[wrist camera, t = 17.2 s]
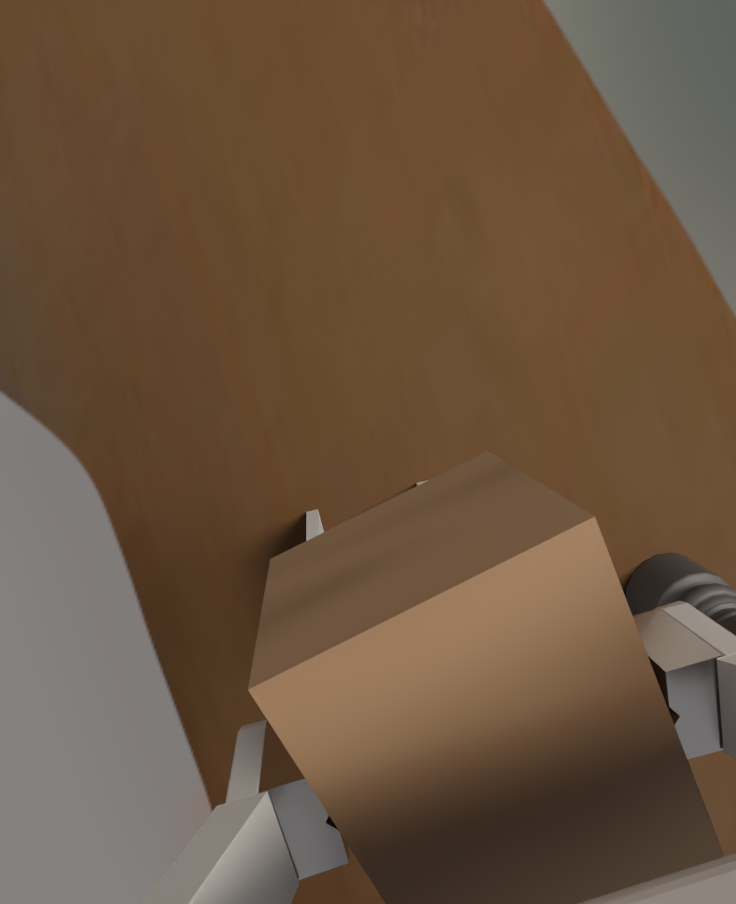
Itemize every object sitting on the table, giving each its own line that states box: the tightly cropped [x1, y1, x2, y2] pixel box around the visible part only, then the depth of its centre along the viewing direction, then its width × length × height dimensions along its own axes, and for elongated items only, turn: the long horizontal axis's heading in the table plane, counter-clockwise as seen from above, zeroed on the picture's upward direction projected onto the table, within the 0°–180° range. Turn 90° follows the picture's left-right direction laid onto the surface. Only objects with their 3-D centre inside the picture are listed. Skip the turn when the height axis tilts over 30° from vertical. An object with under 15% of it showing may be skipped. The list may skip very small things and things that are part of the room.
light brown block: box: [248, 451, 724, 904], centre depth 9 cm, size 7×5×4 cm
